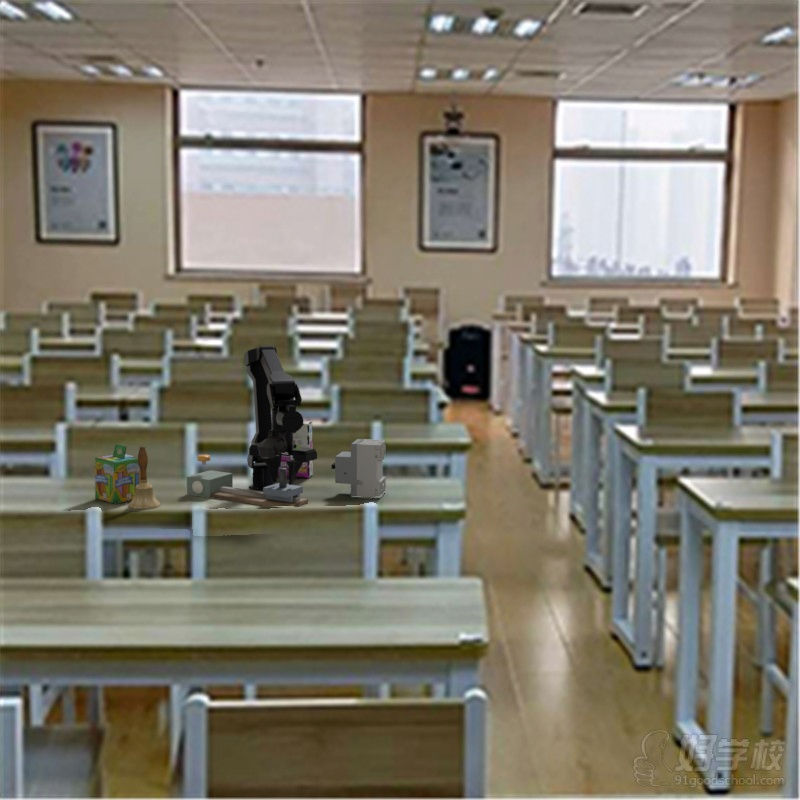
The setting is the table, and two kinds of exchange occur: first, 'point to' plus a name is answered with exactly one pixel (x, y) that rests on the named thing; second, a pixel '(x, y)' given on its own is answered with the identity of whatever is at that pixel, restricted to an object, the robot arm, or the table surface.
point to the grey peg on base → (282, 489)
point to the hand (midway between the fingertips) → (282, 483)
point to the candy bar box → (301, 440)
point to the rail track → (253, 497)
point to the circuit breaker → (362, 468)
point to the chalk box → (116, 476)
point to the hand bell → (143, 486)
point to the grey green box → (208, 483)
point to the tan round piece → (203, 458)
